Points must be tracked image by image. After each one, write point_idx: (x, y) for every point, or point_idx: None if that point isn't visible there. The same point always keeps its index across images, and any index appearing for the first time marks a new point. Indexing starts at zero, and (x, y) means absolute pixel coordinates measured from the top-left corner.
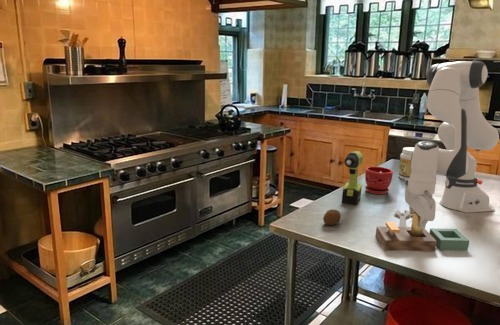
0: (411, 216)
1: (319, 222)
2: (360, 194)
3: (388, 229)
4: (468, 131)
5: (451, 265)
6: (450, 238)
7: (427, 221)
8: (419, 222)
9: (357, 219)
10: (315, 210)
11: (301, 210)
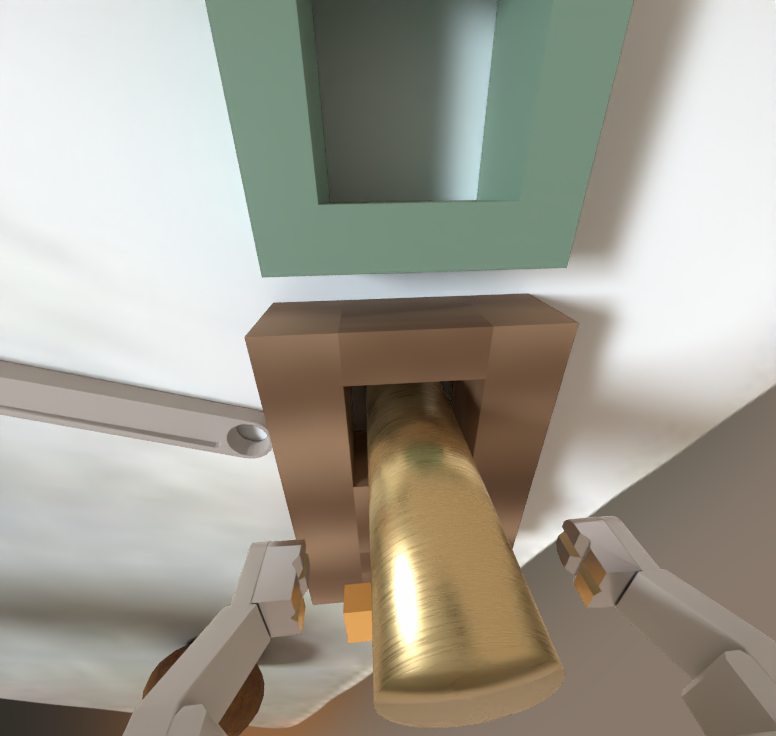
0: (304, 588)
1: None
2: None
3: (352, 566)
4: None
5: (732, 257)
6: (551, 118)
7: (753, 629)
8: (586, 605)
9: (111, 587)
10: (84, 686)
11: (115, 708)
